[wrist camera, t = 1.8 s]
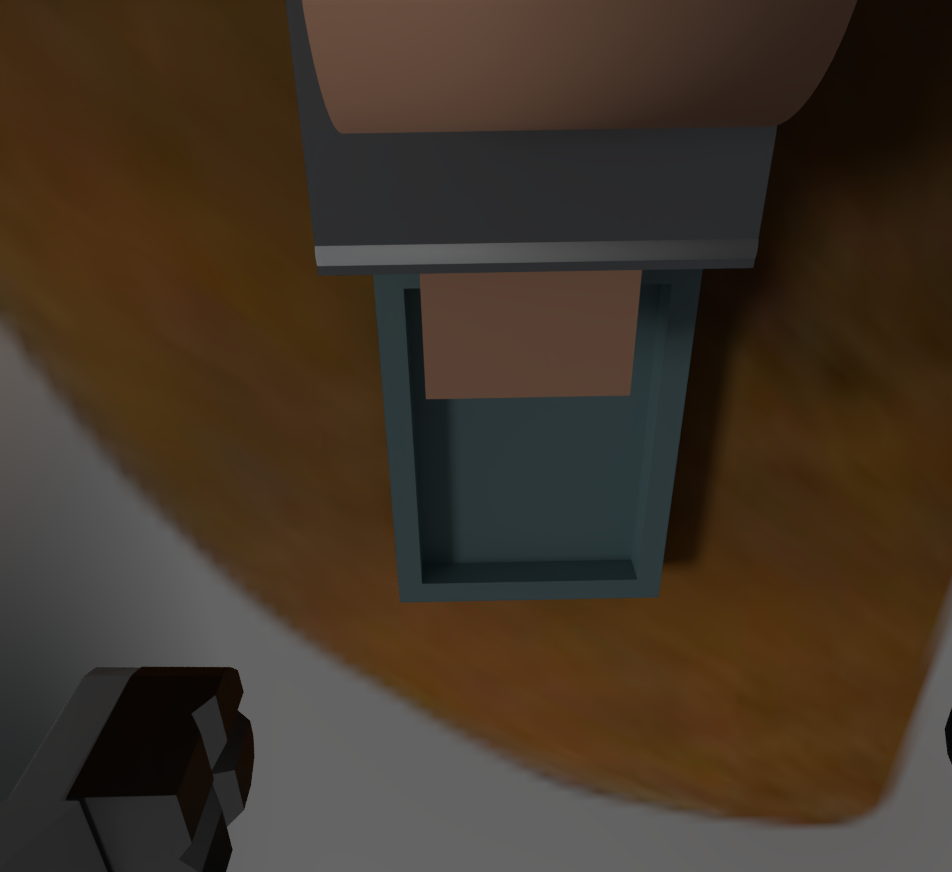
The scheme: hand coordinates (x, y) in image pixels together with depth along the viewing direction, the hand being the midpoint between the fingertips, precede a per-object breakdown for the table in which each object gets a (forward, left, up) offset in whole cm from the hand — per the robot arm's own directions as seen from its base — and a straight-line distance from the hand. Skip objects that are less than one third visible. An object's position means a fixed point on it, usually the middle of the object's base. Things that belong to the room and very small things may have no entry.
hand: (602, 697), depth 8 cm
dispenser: (-6, 0, -15) cm, 17 cm away
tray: (+5, 0, -15) cm, 16 cm away
